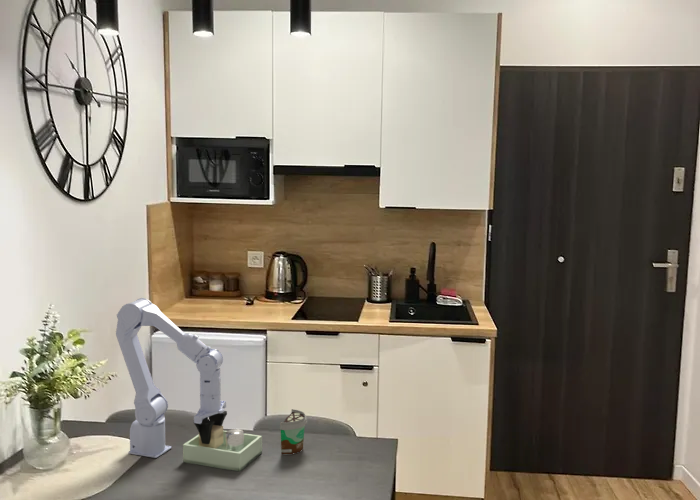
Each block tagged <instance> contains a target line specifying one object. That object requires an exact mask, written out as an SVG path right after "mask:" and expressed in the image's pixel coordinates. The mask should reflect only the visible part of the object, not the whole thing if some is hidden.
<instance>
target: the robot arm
mask: <svg viewBox="0 0 700 500" xmlns="http://www.w3.org/2000/svg"><path fill="white" fill-rule="evenodd" d="M116 318H117V323H116V331H115V336H116V340H117V342H118V345H119V348H120V351H121V353H122V354H121V355H122V356H123V359H124V362H125V366H126V368H127V371H128V374H129V377H130V379H131V382H132V386H133V388H134V391H135V395H134V400H133V404H134V408H135V409H134V417H135V420H134V421H132V423H131V425H130V428H129V450H128V454H130V455H131V454H132V455H136V456H141V457H148V458H154V459H157V458H159V457H161V455H163V454H165V453H166V452H168V451H169V450H171V449H172V445H166V417H165V413H166V412H167V411H168V409H169V403H168V402H169V401H168V400H167V398H166V397H165V396H164V395H163V393H162V391H161V389H160V388H159V387H157V386H156V385H155V383H154V381H153V378H152V374H151V372H150V368H149V366H148V363H147V360H146V357H145V354H144V350H143V348H142V345H141V342H140V339H139V337H138V333H139V331H140V329H141V328H142V327H154V328H156V329H158V330H159V331H160V332H161V333H163V334H164V335H165V336H167V337H168V338H170V339H171V340H173V342H175V343H176V348H177V350H178V351H180V352H181V353H182V354H183V355H185V356H186V357H187V358H188V359H189V360H191V361H192V362H193V363H194V364H196V365H195V366H196V369H197V371H198V372H199V400H200V401H199V406H200V407H199V409H198V411H197V413H196V414H195V415H193V425H195V427H196V429H197V431H198V434H200V438H201V441H202V443H203V444H209V443H210V438H211V430H212V426H213V425H218V426H223V424H224V422H225V421H224V420H225V419H226V417H227V415H228V411H227V410H225V409H226V408H227V400H222V399H221V396H222V392H221V390H222V389H221V378H222V377H221V368H220V367H221V366H222V365H223V362H224V358H223V355H222V353H221V352H220V351H219V350H218V349H217V348H212V346H210V345H207V344H205V343H204V342H203V341H202V340H201V339H199V336H198V335H197V334H196V333H195V334H193V333H192V332H188V333H186V332H184V331H183V330H182V329H181V328H179V326H177V324H176V323H174V322H173V321H172V320H171V319H170V318H169V317H167V315H165V314H164V313H163V312H162V311H161V310H160V308H159V307H158V306H157V305H156V304H154V303H152V301H151V300H149V299H147V298H146V297H143V298H142V297H141V298H137V299H135V300H134V301H132V302H129V303H126V304H123V306H121V308H119V310H118V312H117V314H116Z"/></svg>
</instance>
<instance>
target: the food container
mask: <svg viewBox="0 0 700 500" xmlns="http://www.w3.org/2000/svg"><path fill="white" fill-rule="evenodd" d="M307 424H308V418H307V415H306V413H305V412H303V411H301V410H299V409H291V412H290V414H289V415H288V416H286V418H285V419H284V421H280V425H279V431H280V453H281V454H292V455H294V454H293V453H296V454H298V453H297V452H299V453H301V452H302V451H303V450H304V440H305V428H306V427H305V426H306V425H307ZM302 449H303V450H302ZM301 450H302V451H301ZM300 451H301V452H300Z"/></svg>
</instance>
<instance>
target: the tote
mask: <svg viewBox="0 0 700 500" xmlns="http://www.w3.org/2000/svg"><path fill="white" fill-rule="evenodd" d="M227 431H228V430H224V429H223V444H222V445H220V446H219V447H217V448H216V449H215V448H209V447H202V446H199V433H198V434H197V435H195V436H194V437H192V438H191V439H189V440H188V441H186V442H184V443H182V462H183V463H187V464H193V465H199V466H204V467H211V468H217V469H223V470H228V471H236V472H241V471H243V470H244V469H246V467H247V466H249V465H250V464H251V463H252V462H253V461H254V460H256V458H258V457H259V456H260V455H262V453H263V435H258V434H251V433H244V448H243V449H242V450H241V451H239V452H235V451H228V450H226V432H227ZM257 456H258V457H257Z"/></svg>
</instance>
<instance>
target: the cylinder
mask: <svg viewBox="0 0 700 500" xmlns="http://www.w3.org/2000/svg"><path fill="white" fill-rule="evenodd" d="M226 431H227V432H226V450H228V451H235V452H239V451H241V450H242V449H243V448H244V432H245V431H244V430H243V429H240V428H235V429H234V428H233V429H229V430H226Z"/></svg>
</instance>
